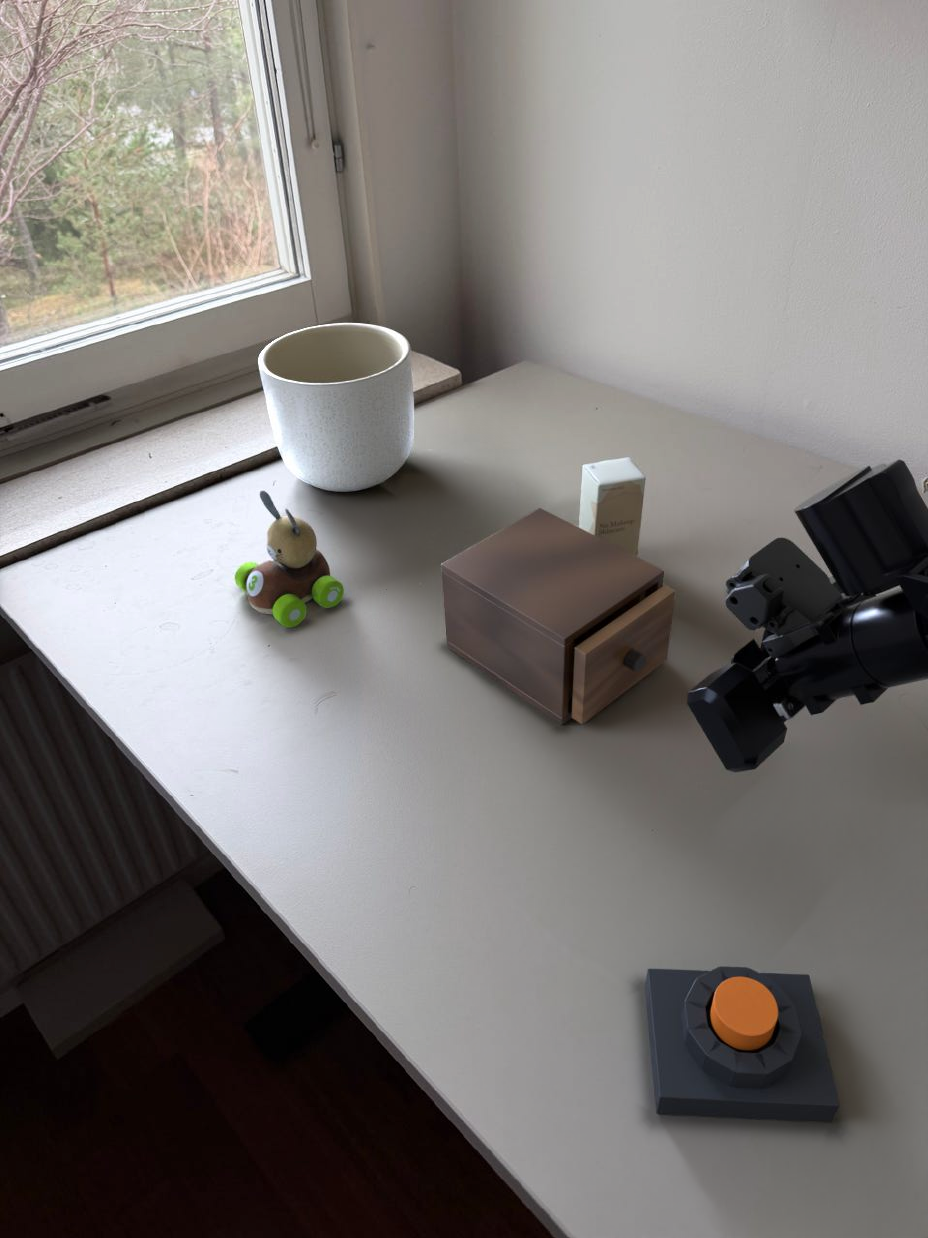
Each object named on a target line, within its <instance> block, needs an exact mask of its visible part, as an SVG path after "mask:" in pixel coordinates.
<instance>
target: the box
mask: <svg viewBox="0 0 928 1238" xmlns="http://www.w3.org/2000/svg"><path fill="white" fill-rule="evenodd" d="M581 468H582V470H581V472H582V473H581V475H582V476H581V485H580V486H581V488H580V502H579V503H580V504H579V519H578V527H579V528H581V529H583V530H585V531H587V532H589V533H591V534H593V535H595V536H597V537H599V538H601V539H603V540H605V541H607V542H609V543H611V544H613V545H615V546H616V547H618V548H620V549H622V550H624V551H626V552H628V553H630V554H632V555H634V556H636V557H638V551H639V541H640V534H641V525H642V516H643V507H644V506H643V505H644V498H645V489H646V478H647V477H646V476H645V474H644V473H643V471H642V470H641V469H640V468H639V466H637V464H636V463H635V462H634V461H633V459H632V458H631V457H628V456H627V457H621V458H615V459H606V460H602V461H597V462H591V463H586V464H585V463H584V464H583V465H582V467H581Z"/></svg>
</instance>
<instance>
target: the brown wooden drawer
mask: <svg viewBox="0 0 928 1238" xmlns="http://www.w3.org/2000/svg"><path fill="white" fill-rule="evenodd" d="M645 594H646V591H644V592H643V593H641V594H640V595H638V596H637V597H636V598H634V599H633V600H631V601H630V602H628V603H627V604H625V605H624V606H623V607H621V608H620V609H618V610H617V611H615V612H614V613H612V614H611V615H609V616H608V617H607V618H605V619H604V620H602V621H601V622H599V623H598V624H596V625H595V626H594V627H592V628H591V629H589V630H588V631H586V632H585V633H583V634H582V635H580V636H579V637H578V638H576V639H575V640H573V641H572V642H571V653H570V678H569V700H570V699H571V698H573V699H572V718H571V719H573V720H574V721H576V722H578V723H579V724H580V725H584V724H585V723H586V722H588V721H589V720H590V719H591V718H593V717H594V716H596V715H597V714H598V713H599V712H601V711H602V710H603V709H605V708H606V707H608V705H610V704H611V703H613V701H615V700H616V699H617V698H619V697H620V696H621V695H623V694H624V693H626V692H627V691H628V690H630V689H631V688H632V687H633V686H635V685H636V684H638V683H639V682H640V681H641V680H642V679H643V678H645V677H646V676H648V675H649V674H650V673H652V672H653V671H654V670H656V668H659V667H660V666H661V665H662V664H664V663H665V662H666V661H667V660H668V656H669V655H668V654H669V646H670V640H671V639H670V638H671V632H672V631H671V630H672V622H673V614H674V607H675V598H676V590H675V589H673V588H671V587H670V586H667V585H665V584H663V586H662V587H661V588H659V589H658V590H657V591H655V592H654V593H652V594H651V595H649V596H648V597H647V598H645Z"/></svg>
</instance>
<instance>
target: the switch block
mask: <svg viewBox="0 0 928 1238" xmlns="http://www.w3.org/2000/svg"><path fill="white" fill-rule="evenodd" d="M733 977H747V978H751V979H753V980H756V981H758V982H759V983H761V984H762V985H764V986H765V987H766V988H767V989H768V990H769V991H770V992H771V993H772V995H773V996H774V998H775V1000H776V1003H777V1006H778V1019H777V1022H776V1025H775V1028H774V1031H773V1034H772V1037H771V1039H770V1040H769V1042H768V1043H767V1044H766V1045H764V1046H763V1047H761V1048H759V1049H756V1050H748V1051H747V1050H740V1049H737V1048H734V1047H732V1046H730V1045H728V1044H727V1043H725V1042H724V1041H723V1040H722V1039H721V1038H720V1037H719V1036H718V1035H717V1033H716V1032H715V1030H714V1028H713V1026H712V1023H711V1019H710V1011H711V1007H712V1003H713V999H714V994H715V991H716V989H717V988H718V986H719V985H720V984H721V983H722V982H723V981H725V980H727V979H729V978H733ZM811 981H812V980H811V977H810V975H809V974H808V973H807V974H806V973H805V974H804V973H777V972H758V971H756V970H754V969H752V968H750V967H747V966H745V967H744V966H720V965H719V966H717V967H715V968H713V969H712V970H702V969H701V970H700V969H697V970H695V969H675V968H673V969H671V968H647V971H646V976H645V984H644V991H645V992H644V993H645V1001H646V1002H645V1004H646V1015H647V1025H648V1035H649V1036H648V1037H649V1048H650V1049H649V1050H650V1057H651V1058H650V1059H651V1060H650V1061H651V1070H652V1071H651V1072H652V1079H653V1080H652V1081H653V1091H654V1103H655V1113H656V1114H657V1115H665V1116H666V1115H667V1116H668V1115H670V1116H688V1117H708V1118H709V1117H710V1118H726V1119H727V1118H728V1119H747V1120H749V1119H750V1120H769V1121H787V1122H788V1121H790V1122H807V1123H810V1122H811V1123H826V1124H827V1123H828V1124H829V1123H830V1124H832V1123H833V1122H834V1120H835V1118H836V1115H837V1114H838V1112H839V1110H840V1107H841V1103H840V1099H839V1095H838V1090H837V1087H836V1081H835V1079H834V1074H833V1070H832V1065H831V1061H830V1057H829V1052H828V1049H827V1044H826V1040H825V1037H824V1032H823V1028H822V1023H821V1020H820V1014H819V1011H818V1006H817V1002H816V999H815V998H816V997H815V994H814V989H813V985H812V982H811Z"/></svg>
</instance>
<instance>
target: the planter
mask: <svg viewBox="0 0 928 1238" xmlns="http://www.w3.org/2000/svg"><path fill="white" fill-rule="evenodd" d="M257 363H258V370H259V374H260V375H259V376H260V380H261V384H262V389H263V394H264V398H265V403H266V406H267V412H268V416H269V420H270V424H271V428H272V433H273V436H274V437H273V438H274V440H275V443H276V446H277V448H278V452H279V455H280V456H281V459H282V460H283V463H284V465H285V466H286V468H288V470H289V471H290V472H291V473H292V474H293V475H294V476H295V477H297V478H298V479H300V480H301V481H303V482H304V483H306V484H309V485H310V486H311V487H312V486H313V487H314V488H318V489H321V490H325V491H330V492H338V493H339V492H340V493H347V492H349V493H350V492H356V491H357V492H358V491H362V490H366V489H369V488H373V487H375V486H377V485H379V484H381V483H383V482H385V481H387V480H388V479H390V478H391V477H392V476H393V475H394V474H396V473H398V471H399V470H400V469H401V468H402V467H403V466H404V464H405V463H406V462H407V459H408V458H409V456H410V454H411V452H412V449H413V443H414V436H415V435H414V434H415V402H414V401H415V397H414V377H413V359H412V348H411V344H410V342H409V341H408V339H407V338H406V337H405V336H404V335H403V334H402V333H400V332H398V331H396V330H394V329H391V328H388V327H385V326H381V325H376V324H369V323H359V322H357V323H356V322H342V323H341V322H340V323H328V324H321V325H316V326H310V327H306V328H302V329H299V330H295V331H292V332H289V333H287V334H284V335H283V336H280V337H279V338H276V339H274V340H273V341H272V342H271V343H270V342H269V344H268V345H266V346H265V347H264V349H263V350H262V351H261V352H260V354H259V356H258V360H257Z"/></svg>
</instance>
